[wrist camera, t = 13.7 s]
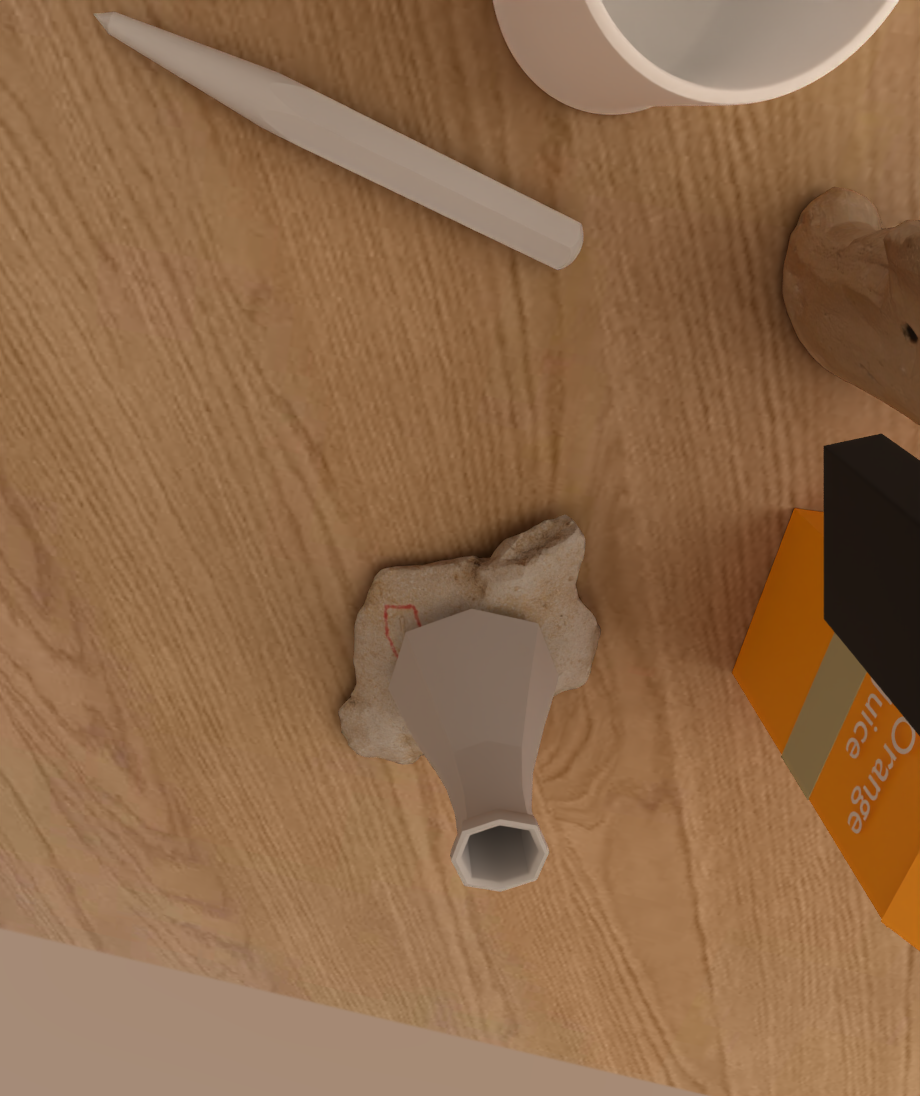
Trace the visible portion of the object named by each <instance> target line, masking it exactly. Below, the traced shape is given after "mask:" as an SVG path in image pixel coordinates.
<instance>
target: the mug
mask: <svg viewBox="0 0 920 1096" xmlns="http://www.w3.org/2000/svg"><path fill="white" fill-rule="evenodd" d="M898 1H899V0H493V4H494V9H495V13H496V17H497V20H498V23H499V26H500V29H501V32H502V34H503V37H504V39H505V41H506V43H507V46H508V48H509V49H510V51H511V53H512V55H513V56H514V58H515V60H516V61H517V63H518V64H519V65H520V67H521V68H522V69H523V71H524V72H525V73H526V74H527V75H528V77H529V78H530V79H531V80H532V81H533V82H534V83H535V84H536V85H537V86H538V87H540V88H541V89H542V90H543V91H544V92H546V93H547V94H548V95H550V96H551V97H553V98H555V99H556V100H558V101H560V102H562V103H563V104H566V105H568V106H570V107H573V108H575V109H578V110H581V111H585V112H589V113H595V114H604V115H619V114H628V113H633V112H638V111H642V110H645V109H648V108H651V107H654V106H716V105H741V104H750V103H756V102H761V101H766V100H770V99H774V98H777V97H780V96H783V95H786V94H789V93H791V92H793V91H796V90H798V89H800V88H802V87H805V86H807V85H809V84H810V83H812V82H814V81H816V80H818V79H819V78H821V77H823V76H824V75H826V74H827V73H829V72H830V71H832V70H833V69H835V68H836V67H837V66H839V65H840V64H841V63H843V62H844V61H845V60H846V59H847V58H849V57H850V56H851V55H852V54H853V53H854V52H856V51H857V50H858V49H859V48H860V47H861V46H862V45H863V44H864V43H865V42H866V41H867V40H868V39H869V38H870V37H871V36H872V35H873V33H874V32H875V31H876V30H877V29H878V28H879V27H880V25H881V24H882V23H883V22H884V20H885V19H886V18H887V17H888V15H889V14H890V13H891V11H892V10H893V8H894V7H895V6H896V4H897V3H898Z"/></svg>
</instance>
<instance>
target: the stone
mask: <svg viewBox="0 0 920 1096" xmlns="http://www.w3.org/2000/svg"><path fill="white" fill-rule="evenodd" d="M584 551H585V537H584V534H583V533H582V532H581V530H580V529H579V527H578V526H577V524H576V523H575V521H573V520H572V519H571V518H570V517H568V516H567V515H563V516H559V517H557V518H556V519H550V520H545V521H543V522H541V523H540V524H539V525H536V526H534V527H532V528H531V529H529V530H528V531H526V532H523V533H521V534H518V535H516V536H513V537H510V538H508V539H505V540H504V541H503V542H502V543H501V544H500V545H499V546H498V547H497V548H496V550H495V551H494V553H493V554H492V556H491V557H489V558H478V557H477V556H467V557H460V558H455V559H450V560H443V561H437V562H433V563H429V564H425V565H422V566H420V565H410V566H394V567H389V568H385V569H382V570H380V572H379V573H378V574H377V575H376V576H375V577H374V580H373V583H372V586H371V588H370V590H369V592H368V595H367V598H366V601H365V603H364V605H363V606H362V608H361V609H360V610H359V612H358V614H357V619H356V622H355V626H354V640H355V643H354V659H353V663H354V666H355V672H356V680H357V683H356V686H355V688H354V691H353V692H352V693H351V698H349V699H348V700H347V702H345V703H344V704H343V705H342V706H341V707H340V709H339V717H340V721H341V732H342V734H343V735H344V736H345V737H346V739H347V741H348V745H349V746H350V747H351V748H352V749H353V750H354V751H355V752H356V753H357V754H358V755H361V756H363V757H377V758H383V759H386V760H389V761H394V762H396V763H399V764H413V763H414V762H415V761H416V760H418V758H419V757H420V756H421V755H424V754H423V753H422V751H421V750H420V748H419V747H418V745H417V743H416V742H415V740H414V739H413V737H412V735H411V733H410V731H409V729H408V727H407V725H406V723H405V721H404V719H403V717H402V715H401V713H400V711H399V709H398V707H397V705H396V703H395V701H394V699H393V697H392V695H391V693H390V691H389V689H388V687H389V684H390V681H391V678H392V675H393V672H394V668H395V665H396V662H397V659H398V656H399V652H400V649H401V646H402V643H403V640H404V637H405V633H406V632H407V631H410V630H413V629H416V628H419V627H421V626H424V625H427V624H430V623H433V622H435V621H438V620H441V619H444V618H447V617H449V616H452V615H455V614H458V613H461V612H464V611H466V610H469V609H476V610H481V611H485V612H490V613H494V614H499V615H503V616H508V617H512V618H517V619H521V620H526V621H530V622H535V623H538V624H539V627H540V629H541V632H542V634H543V637H544V640H545V642H546V645H547V647H548V650H549V653H550V655H551V658H552V660H553V663H554V665H555V668H556V671H557V673H558V676H559V678H558V682H557V686H556V689H555V693H554V696H555V695H557V694H559V693H561V692H563V691H566V690H571V689H576V688H578V687H580V686H582V685H584V684H585V683H586V681H587V679H588V677H589V675H590V673H591V666H592V661H593V658H594V655H595V652H596V649H597V644H598V640H599V637H600V633H601V630H600V627H599V625H598V624H597V622H596V618H595V617H594V616H593V614H592V612H591V611H590V610H588V609H587V608H586V607H585V606H584V604H583V603H582V601H581V600H580V598H579V597H578V594H577V588H576V581H577V578H578V573H579V569H580V565H581V562H582V560H583V558H584Z"/></svg>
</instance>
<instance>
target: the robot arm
mask: <svg viewBox="0 0 920 1096" xmlns="http://www.w3.org/2000/svg"><path fill="white" fill-rule="evenodd" d="M824 620H825V621H826V622H827V624H828V625H829V626H830V627H831V628H832V630H833V631H834V632H835V633H836V635H837V636H838V637H839V638H840V639H841V641H842V642H843V643H844V644H845V646H846V647H847V648H848V649H849V650H850V652H851V653H852V654H853V655H854V657H855V658H856V659H857V660H858V661H859V663H860V664H861V665H862V666H863V668H864V669H865V670H866V671H867V673H868V674H869V675H870V676H871V677H872V679H873V680H874V681H875V682H876V684H877V685H878V686H879V687H880V688H881V690H882V691H883V692H884V693H885V695H886V696H887V697H888V698H889V699H890V701H891V702H892V703H893V704H894V706H895V707H896V708H897V709H898V710H899V712H900V713H901V714H902V715H903V717H904V718H905V719H906V720H907V721H908V723H909V724H910V725H911V726H912V728H913V729H914V730H915V731H916V732H917V734H918V735H919V736H920V460H918V459H917V458H915V457H914V456H913V455H911V454H910V453H908V452H907V451H905V450H904V449H903V448H901V447H900V446H898V445H897V444H896V443H894V442H893V441H891V440H890V439H889V438H887V437H886V436H884V435H883V434H878V435H873V436H868V437H864V438H859V439H854V440H850V441H845V442H840V443H836V444H831V445H826V446H824Z"/></svg>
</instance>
